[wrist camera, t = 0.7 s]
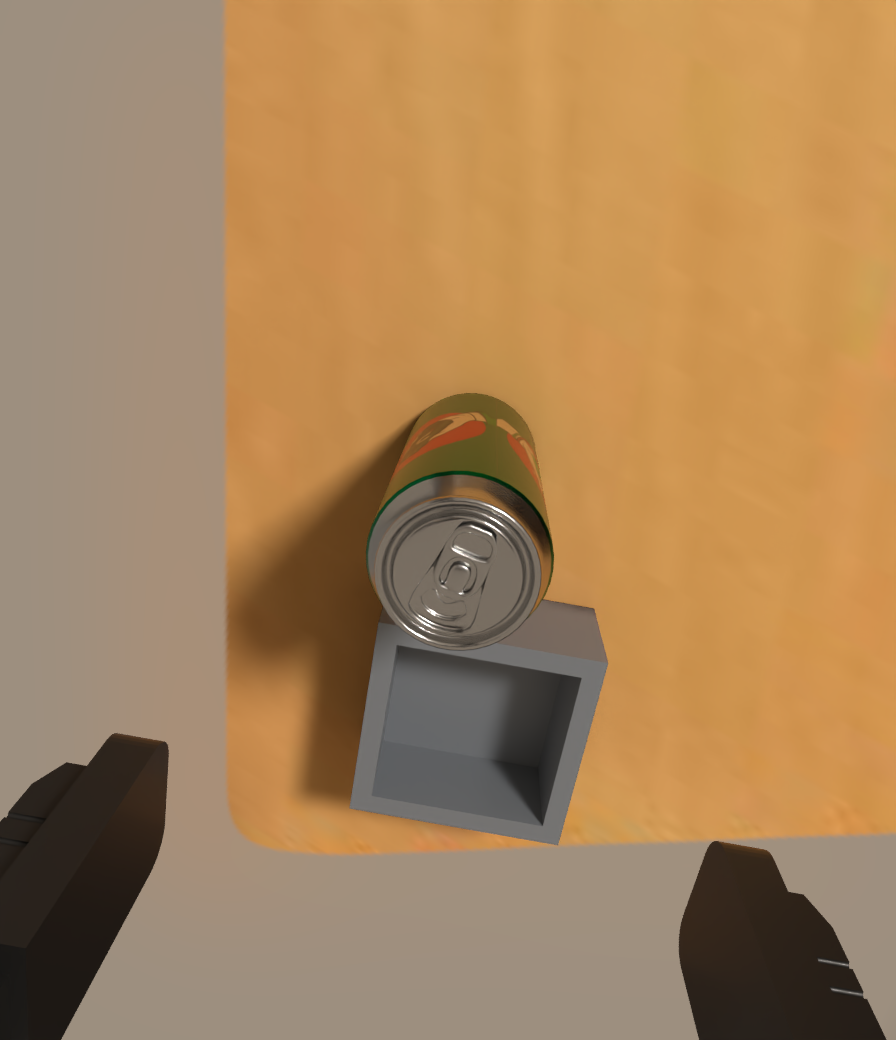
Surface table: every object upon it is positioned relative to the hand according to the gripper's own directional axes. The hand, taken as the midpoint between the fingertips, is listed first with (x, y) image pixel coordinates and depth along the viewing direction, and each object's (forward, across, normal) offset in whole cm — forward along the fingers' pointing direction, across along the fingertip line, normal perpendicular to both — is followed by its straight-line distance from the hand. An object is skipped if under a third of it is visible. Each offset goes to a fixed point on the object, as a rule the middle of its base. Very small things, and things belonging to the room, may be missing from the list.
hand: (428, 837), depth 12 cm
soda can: (+22, 0, 0) cm, 22 cm away
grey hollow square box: (+21, -2, +10) cm, 24 cm away
